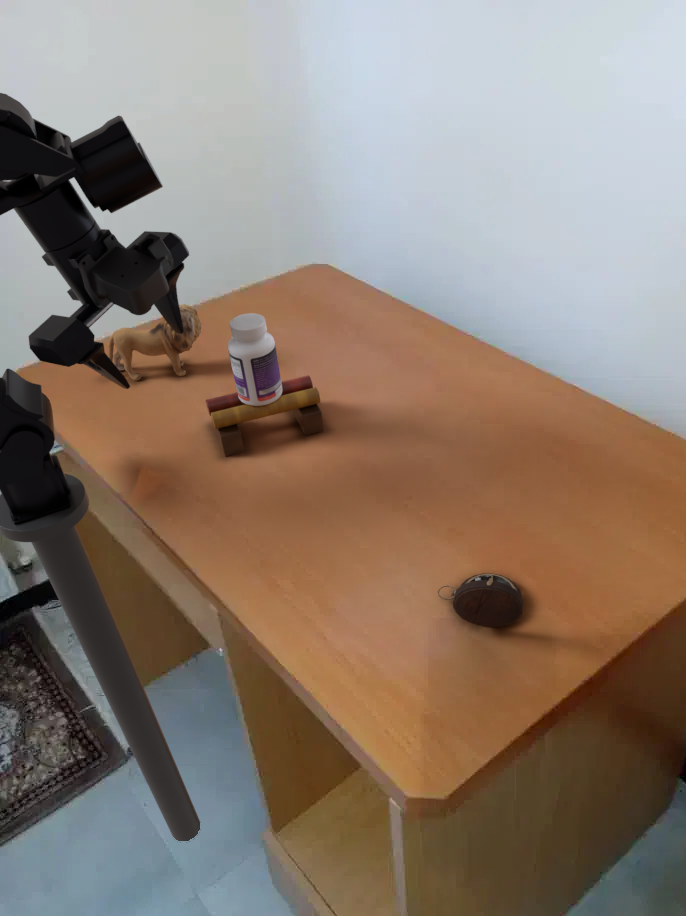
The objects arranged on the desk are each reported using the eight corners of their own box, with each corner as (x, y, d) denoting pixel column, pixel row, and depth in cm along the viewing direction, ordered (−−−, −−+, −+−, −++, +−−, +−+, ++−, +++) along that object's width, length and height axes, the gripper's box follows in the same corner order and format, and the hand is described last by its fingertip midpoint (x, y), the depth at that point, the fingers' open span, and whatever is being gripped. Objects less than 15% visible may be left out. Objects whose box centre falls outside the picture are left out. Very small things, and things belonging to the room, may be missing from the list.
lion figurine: (209, 354, 113) (196, 295, 107) (211, 373, 109) (197, 313, 103) (103, 370, 111) (84, 310, 105) (102, 389, 107) (81, 329, 101)
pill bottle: (286, 382, 97) (275, 309, 90) (278, 407, 93) (266, 333, 86) (243, 382, 97) (229, 309, 91) (233, 407, 93) (218, 333, 87)
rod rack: (222, 457, 94) (214, 423, 91) (210, 426, 99) (202, 392, 96) (326, 430, 98) (322, 396, 94) (309, 402, 102) (305, 368, 99)
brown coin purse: (522, 581, 77) (528, 526, 72) (519, 644, 72) (524, 589, 67) (441, 574, 79) (441, 520, 74) (431, 635, 73) (430, 581, 68)
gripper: (47, 300, 67) (145, 430, 79) (184, 179, 75) (255, 312, 87) (-19, 291, 74) (80, 413, 85) (114, 180, 82) (188, 304, 93)
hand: (154, 359), depth 87 cm, fingers open, 9 cm apart
